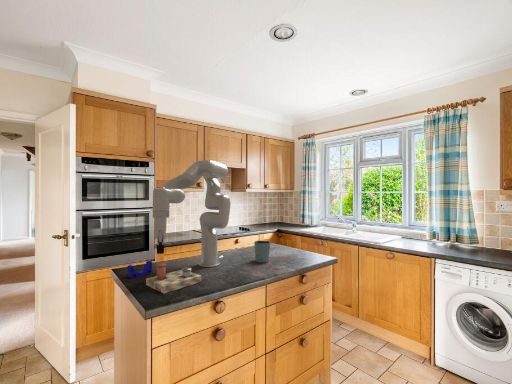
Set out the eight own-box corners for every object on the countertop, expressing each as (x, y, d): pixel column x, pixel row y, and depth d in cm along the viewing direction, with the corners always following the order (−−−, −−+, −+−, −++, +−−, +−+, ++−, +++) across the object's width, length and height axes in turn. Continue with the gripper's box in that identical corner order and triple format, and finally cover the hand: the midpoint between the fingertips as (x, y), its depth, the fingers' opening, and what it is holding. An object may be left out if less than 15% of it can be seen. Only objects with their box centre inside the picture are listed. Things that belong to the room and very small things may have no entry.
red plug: (163, 275, 131) (163, 262, 131) (168, 277, 128) (168, 264, 128) (154, 278, 128) (154, 264, 128) (159, 280, 125) (159, 266, 125)
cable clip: (132, 278, 137) (132, 266, 137) (127, 277, 140) (127, 265, 140) (153, 272, 146) (153, 261, 146) (148, 271, 149) (148, 260, 149)
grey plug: (187, 279, 135) (187, 266, 135) (193, 281, 132) (193, 268, 132) (179, 281, 131) (179, 268, 131) (185, 283, 128) (185, 270, 128)
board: (182, 274, 142) (182, 269, 142) (201, 281, 132) (201, 275, 132) (146, 284, 127) (146, 278, 127) (163, 293, 117) (163, 286, 117)
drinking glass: (251, 260, 172) (251, 241, 172) (262, 257, 179) (262, 239, 178) (261, 263, 164) (262, 244, 164) (273, 260, 171) (273, 241, 171)
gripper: (153, 213, 133) (152, 250, 133) (151, 215, 119) (150, 257, 119) (169, 213, 136) (168, 249, 135) (169, 215, 121) (168, 256, 121)
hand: (160, 253), depth 127 cm, fingers closed
